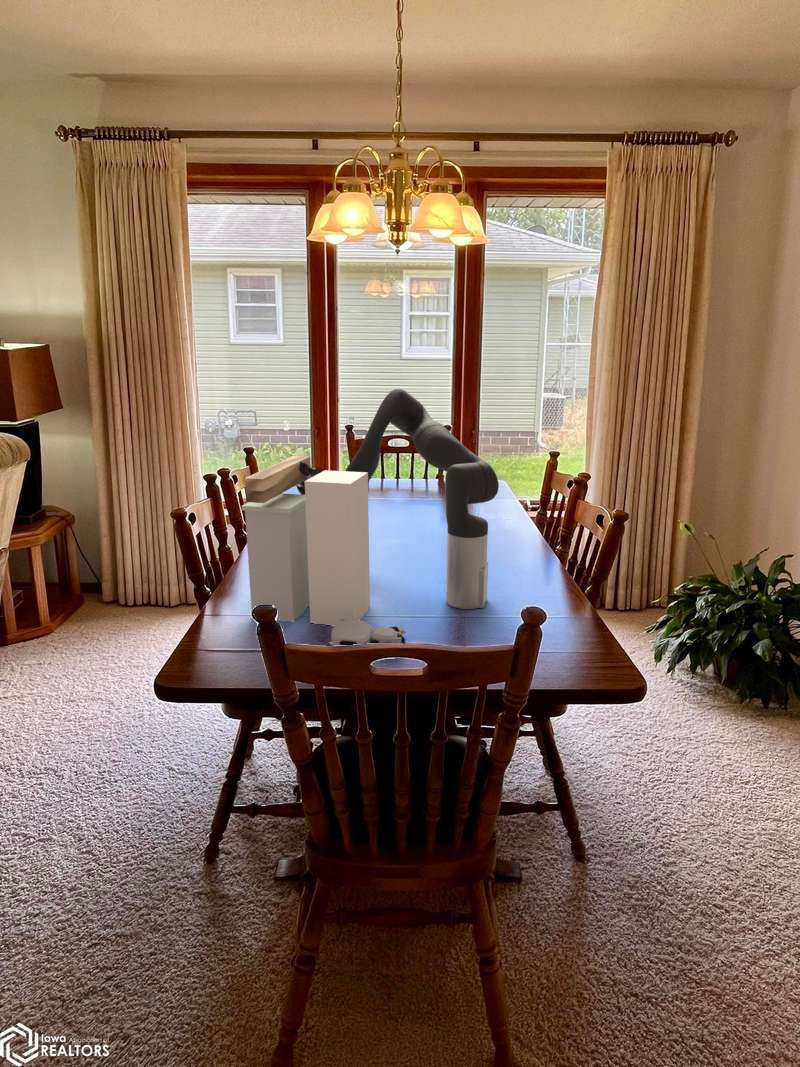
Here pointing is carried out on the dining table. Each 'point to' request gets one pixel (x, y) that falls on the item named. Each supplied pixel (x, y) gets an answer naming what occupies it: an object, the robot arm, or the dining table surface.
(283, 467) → the wooden bar
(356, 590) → the tall stand
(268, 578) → the low stand
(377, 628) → the robot toy
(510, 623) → the dining table surface
